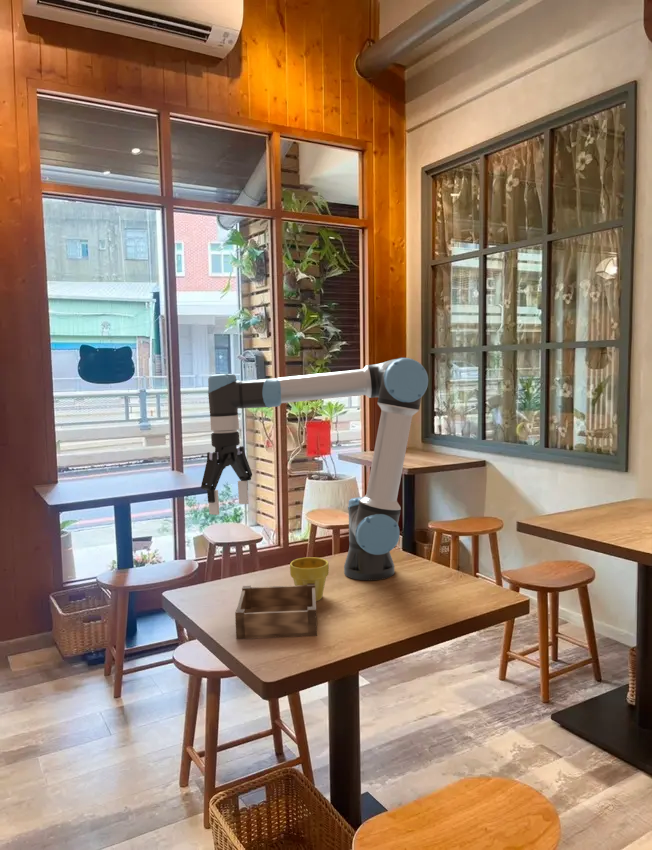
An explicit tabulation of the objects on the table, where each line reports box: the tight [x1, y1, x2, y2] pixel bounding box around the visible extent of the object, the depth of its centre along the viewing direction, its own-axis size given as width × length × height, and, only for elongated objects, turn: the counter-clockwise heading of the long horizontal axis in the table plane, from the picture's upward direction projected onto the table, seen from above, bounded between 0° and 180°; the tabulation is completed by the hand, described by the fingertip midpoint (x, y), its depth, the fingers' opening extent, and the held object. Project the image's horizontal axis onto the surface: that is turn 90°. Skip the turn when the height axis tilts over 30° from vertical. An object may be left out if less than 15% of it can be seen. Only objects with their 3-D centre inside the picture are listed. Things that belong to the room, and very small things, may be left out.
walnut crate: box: [234, 583, 318, 640], centre depth 158 cm, size 19×19×6 cm
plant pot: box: [289, 556, 330, 602], centre depth 174 cm, size 10×10×10 cm
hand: (229, 508), depth 176 cm, fingers open, 13 cm apart
